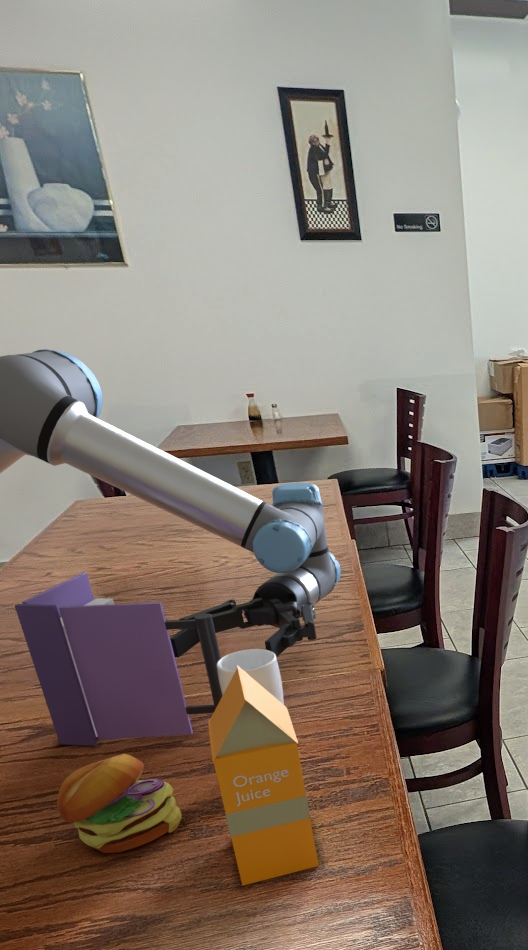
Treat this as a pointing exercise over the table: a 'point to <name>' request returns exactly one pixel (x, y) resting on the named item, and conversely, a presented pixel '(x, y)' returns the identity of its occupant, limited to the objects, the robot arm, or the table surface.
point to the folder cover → (136, 668)
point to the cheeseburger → (117, 805)
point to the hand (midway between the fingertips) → (220, 649)
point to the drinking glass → (252, 670)
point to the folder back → (60, 657)
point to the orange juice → (261, 782)
